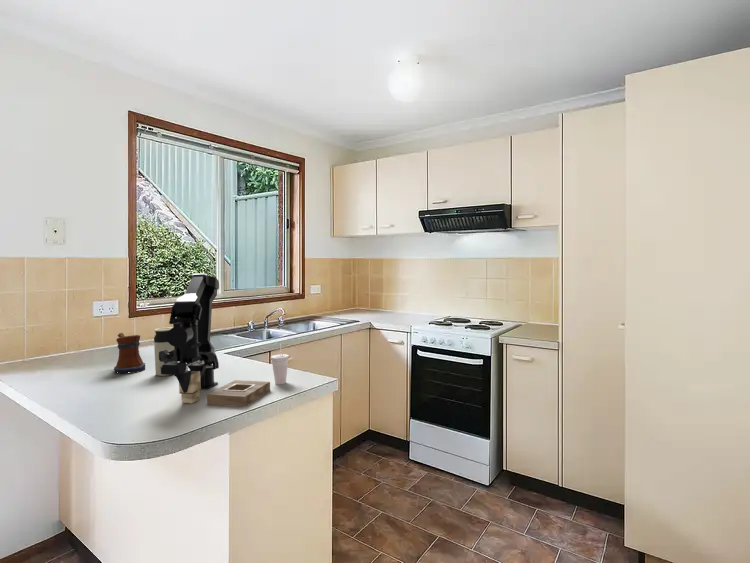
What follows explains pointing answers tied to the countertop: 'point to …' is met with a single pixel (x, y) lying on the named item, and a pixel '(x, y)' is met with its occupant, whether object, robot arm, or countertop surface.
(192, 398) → the peg
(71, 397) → the countertop surface
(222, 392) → the board
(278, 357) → the smoothie
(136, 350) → the mug
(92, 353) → the countertop surface
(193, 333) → the robot arm
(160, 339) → the travel mug
